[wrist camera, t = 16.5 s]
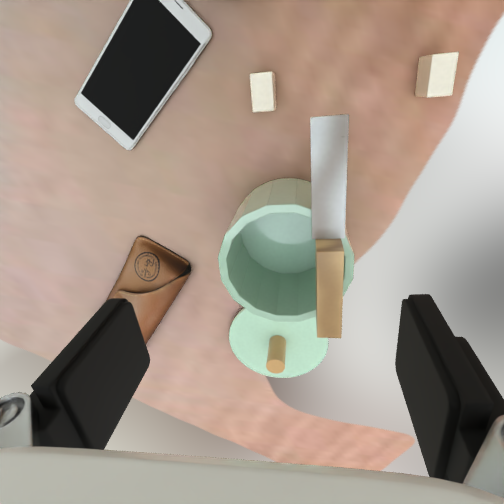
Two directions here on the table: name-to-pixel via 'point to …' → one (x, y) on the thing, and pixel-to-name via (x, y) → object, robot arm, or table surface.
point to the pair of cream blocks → (427, 85)
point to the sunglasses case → (150, 282)
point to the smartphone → (141, 66)
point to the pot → (275, 253)
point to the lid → (276, 345)
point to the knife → (329, 217)
